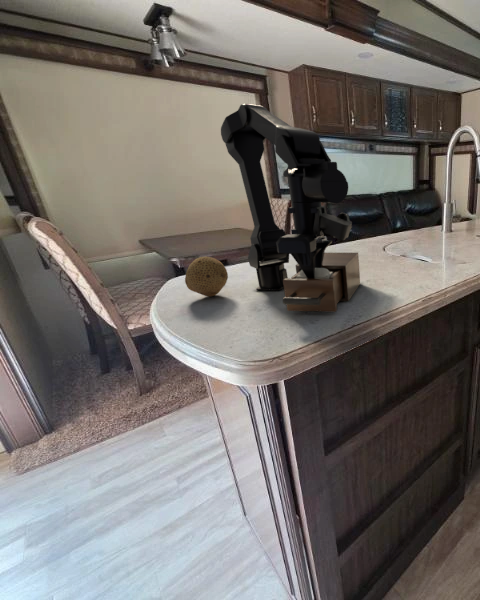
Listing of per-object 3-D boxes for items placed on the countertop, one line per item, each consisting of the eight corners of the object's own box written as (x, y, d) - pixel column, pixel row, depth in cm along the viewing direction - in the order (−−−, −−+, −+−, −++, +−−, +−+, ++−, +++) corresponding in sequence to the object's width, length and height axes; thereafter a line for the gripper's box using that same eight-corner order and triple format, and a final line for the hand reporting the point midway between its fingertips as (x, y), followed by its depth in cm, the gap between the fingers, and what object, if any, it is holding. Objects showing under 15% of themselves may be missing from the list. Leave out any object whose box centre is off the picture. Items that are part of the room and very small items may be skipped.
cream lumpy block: (333, 279, 70) (332, 264, 68) (328, 284, 66) (326, 269, 65) (303, 279, 70) (301, 264, 69) (297, 284, 67) (295, 269, 65)
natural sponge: (236, 296, 78) (228, 257, 74) (195, 306, 72) (183, 263, 69) (226, 288, 84) (218, 251, 80) (187, 296, 78) (177, 257, 75)
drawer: (329, 321, 61) (325, 288, 59) (277, 320, 62) (271, 287, 59) (349, 291, 77) (347, 264, 75) (308, 291, 78) (305, 264, 75)
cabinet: (348, 301, 73) (345, 265, 70) (300, 300, 74) (295, 265, 71) (360, 283, 86) (358, 252, 83) (318, 283, 87) (315, 252, 84)
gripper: (332, 204, 53) (340, 292, 58) (356, 198, 70) (360, 266, 76) (268, 205, 54) (282, 291, 59) (307, 199, 71) (315, 266, 77)
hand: (314, 277), depth 68 cm, fingers closed on cream lumpy block, 4 cm apart
